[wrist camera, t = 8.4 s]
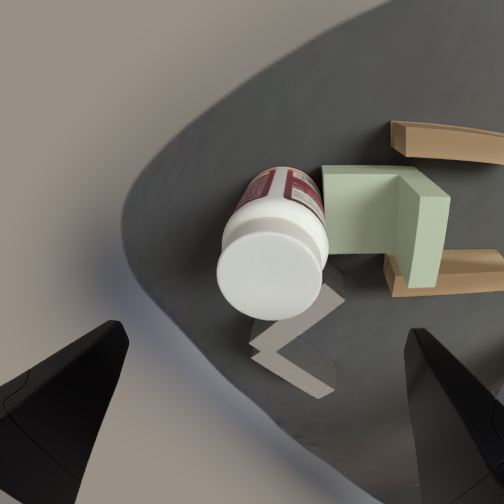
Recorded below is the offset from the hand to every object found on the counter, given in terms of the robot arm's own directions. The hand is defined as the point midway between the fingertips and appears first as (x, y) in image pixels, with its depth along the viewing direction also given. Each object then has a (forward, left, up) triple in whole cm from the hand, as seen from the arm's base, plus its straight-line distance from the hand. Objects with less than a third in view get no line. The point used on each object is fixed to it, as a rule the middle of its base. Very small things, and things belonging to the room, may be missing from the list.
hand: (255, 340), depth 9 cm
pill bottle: (0, 0, -12) cm, 12 cm away
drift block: (0, -5, -11) cm, 12 cm away
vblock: (-10, 0, -12) cm, 15 cm away
